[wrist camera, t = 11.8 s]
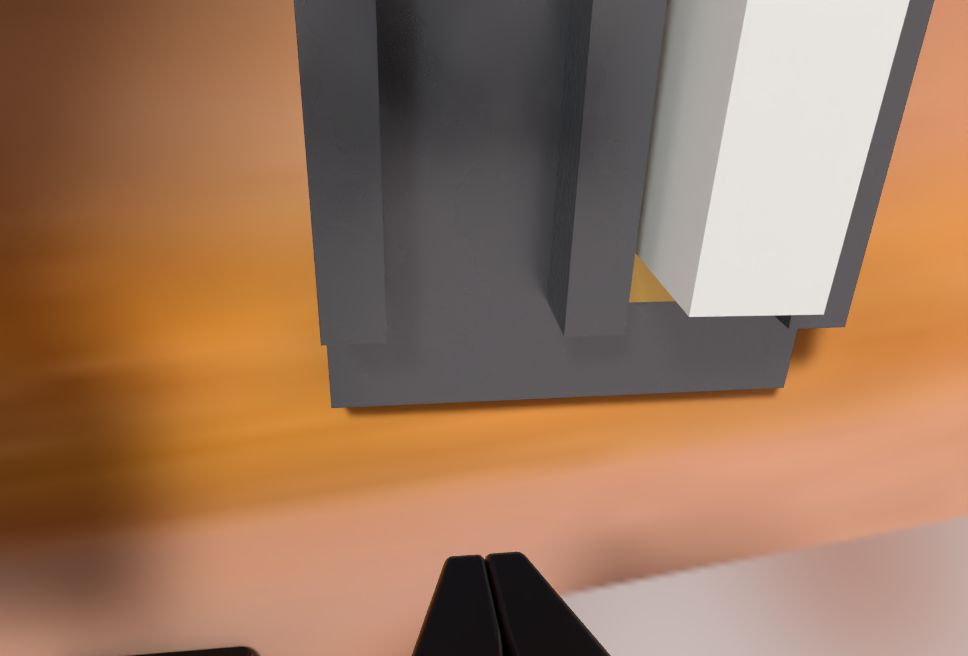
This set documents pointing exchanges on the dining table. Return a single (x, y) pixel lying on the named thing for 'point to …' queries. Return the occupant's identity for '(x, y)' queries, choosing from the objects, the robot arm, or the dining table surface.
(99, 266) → the dining table surface
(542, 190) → the rack
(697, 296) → the white rectangular prism
